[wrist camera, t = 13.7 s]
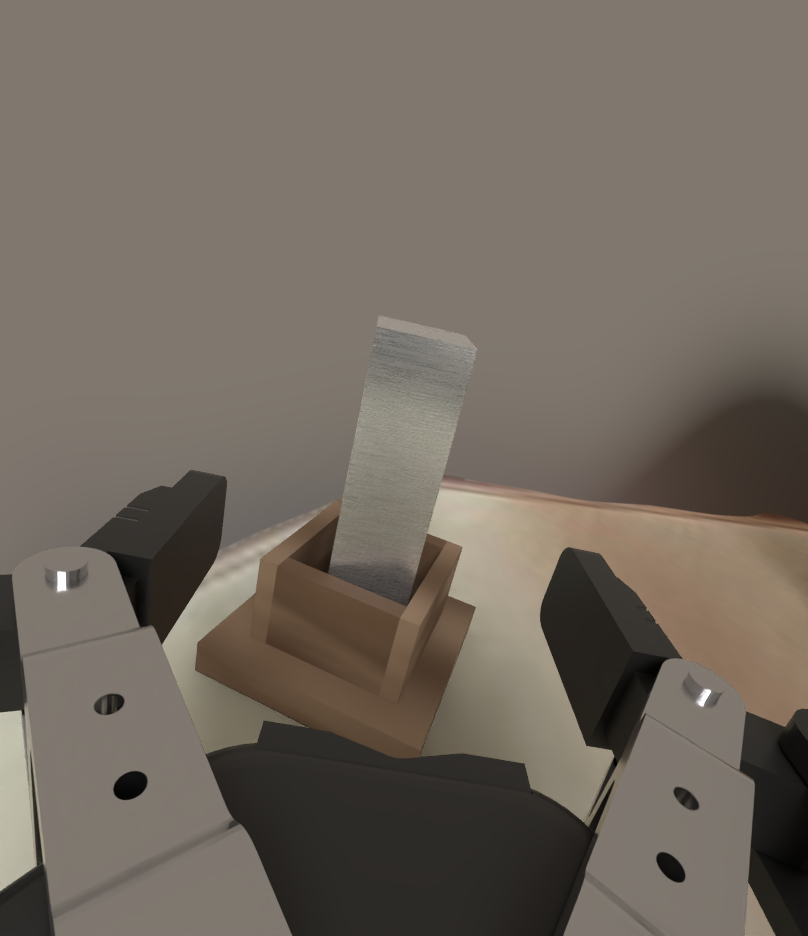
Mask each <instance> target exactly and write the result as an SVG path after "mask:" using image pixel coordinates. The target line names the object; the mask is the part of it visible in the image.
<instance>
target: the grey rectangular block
mask: <svg viewBox="0 0 808 936" xmlns="http://www.w3.org/2000/svg"><path fill="white" fill-rule="evenodd" d="M476 353H477V348H476V347H475V346H474V345H473V344H472V343H471V342H470V340H469V339H467V337H465V335H463V334H458V333H454V332H449V331H445V330H441V329H437V328H432V327H428V326H423V325H419V324H414V323H410V322H406V321H402V320H397V319H393V318H389V317H384V316H379V319H378V323H377V328H376V333H375V338H374V343H373V348H372V353H371V358H370V363H369V368H368V374H367V378H366V384H365V389H364V394H363V399H362V404H361V409H360V414H359V419H358V424H357V429H356V434H355V439H354V444H353V449H352V454H351V460H350V465H349V470H348V475H347V480H346V485H345V490H344V495H343V500H342V505H341V510H340V515H339V520H338V525H337V530H336V536H335V541H334V546H333V551H332V556H331V561H330V566H329V571H328V574H329V575H332V576H334V577H337V578H339V579H341V580H344V581H346V582H349V583H351V584H353V585H356V586H358V587H361V588H363V589H365V590H368V591H370V592H373V593H375V594H377V595H380V596H382V597H385V598H387V599H389V600H392V601H394V602H397V603H399V604H401V605H404V606H406V607H407V605H408V602H409V598H410V594H411V591H412V587H413V583H414V580H415V576H416V572H417V569H418V565H419V561H420V558H421V554H422V550H423V547H424V543H425V540H426V536H427V532H428V529H429V525H430V521H431V518H432V514H433V510H434V507H435V503H436V499H437V496H438V492H439V488H440V485H441V481H442V478H443V474H444V470H445V467H446V463H447V459H448V456H449V452H450V448H451V445H452V441H453V437H454V434H455V430H456V426H457V423H458V419H459V415H460V412H461V408H462V405H463V401H464V397H465V394H466V390H467V386H468V382H469V379H470V375H471V371H472V368H473V364H474V361H475V357H476Z"/></svg>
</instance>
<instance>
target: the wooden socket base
mask: <svg viewBox="0 0 808 936" xmlns="http://www.w3.org/2000/svg"><path fill="white" fill-rule="evenodd" d="M341 505H342V501H339V500H337V501H336V502H334V503H333V504H332V505H330V506H329V507H328V508H327V509H325V510H324V511H323V512H321V513H320V514H319V515H317V516H316V517H315V518H313V519H312V520H311V521H309V522H308V523H307V524H306V525H304V526H303V527H302V528H300V529H299V530H298V531H296V532H295V533H294V534H292V535H291V536H290V537H289V538H287V539H286V540H285V541H283V542H282V543H281V544H279V545H278V546H277V547H275V548H274V549H273V550H271V551H270V552H269V553H268V554H266V555H265V556H264V557H262V558H261V559H260V566H259V573H258V580H257V588H256V593H255V594H254V595H253V596H252V597H250V598H249V599H248V600H247V601H246V602H245V603H243V604H242V605H241V606H240V607H239V608H238V609H236V610H235V611H234V612H233V613H232V614H231V615H229V616H228V617H227V618H226V619H225V620H224V621H222V622H221V623H220V624H219V625H218V626H217V627H215V628H214V629H213V630H212V631H211V632H209V633H208V634H207V635H206V636H205V637H204V638H202V639H201V640H200V641H199V642H198V644H197V655H196V667H195V670H196V671H198V672H200V673H202V674H204V675H206V676H208V677H210V678H212V679H214V680H216V681H218V682H220V683H222V684H224V685H226V686H228V687H230V688H232V689H234V690H236V691H238V692H240V693H242V694H244V695H246V696H248V697H250V698H252V699H254V700H256V701H258V702H260V703H262V704H264V705H266V706H268V707H270V708H272V709H274V710H276V711H278V712H280V713H282V714H284V715H286V716H288V717H290V718H292V719H294V720H296V721H298V722H300V723H302V724H304V725H306V726H308V727H310V728H312V729H317V730H323V731H329V732H332V733H335V734H337V735H340V736H342V737H344V738H347V739H349V740H352V741H354V742H357V743H359V744H361V745H364V746H366V747H369V748H371V749H374V750H376V751H378V752H381V753H383V754H386V755H388V756H391V757H394V758H415V757H419V756H420V753H421V751H422V748H423V746H424V743H425V740H426V738H427V735H428V733H429V730H430V727H431V725H432V722H433V720H434V717H435V714H436V712H437V709H438V707H439V704H440V701H441V699H442V696H443V694H444V691H445V688H446V686H447V683H448V681H449V678H450V675H451V673H452V670H453V668H454V665H455V662H456V660H457V657H458V655H459V652H460V649H461V647H462V644H463V642H464V639H465V636H466V634H467V631H468V629H469V626H470V623H471V620H472V617H473V614H474V611H475V608H476V607H474V606H472V605H469V604H467V603H464V602H462V601H459V600H457V599H454V598H452V597H449V596H448V592H449V589H450V586H451V583H452V579H453V576H454V573H455V570H456V566H457V563H458V560H459V557H460V553H461V550H462V547H461V546H459V545H456V544H453V543H451V542H448V541H445V540H443V539H440V538H437V537H435V536H432V535H429V534H427V536H426V540H425V543H424V547H423V550H422V554H421V558H420V561H419V565H418V569H417V572H416V576H415V580H414V583H413V587H412V591H411V594H410V598H409V602H408V605H407V607H406V606H404V605H401V604H399V603H397V602H394V601H392V600H389V599H387V598H385V597H382V596H380V595H377V594H375V593H373V592H370V591H368V590H365V589H363V588H361V587H358V586H356V585H353V584H351V583H349V582H346V581H344V580H341V579H339V578H337V577H334V576H332V575H329V574H328V571H329V566H330V561H331V556H332V551H333V546H334V541H335V536H336V530H337V525H338V520H339V515H340V510H341Z"/></svg>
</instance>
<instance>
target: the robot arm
mask: <svg viewBox="0 0 808 936" xmlns="http://www.w3.org/2000/svg"><path fill="white" fill-rule="evenodd" d="M226 488H227V480H226V477H224V476H219V475H214V474H210V473H205V472H200V471H195V470H190V471H189V472H188V473H187V474H186V475H185V476H184V477H183V478H182V479H181V480H180V481H178V482H177V484H175V485H174V486H173V487H172V488H170V487H165V486H160V487H157V488H154V489H152V490H149V491H146V492H144V493H141V494H140V495H138V496H137V497H136V498H135V499H134V500H133V501H132V502H131V503H129V504H128V505H127V508H124V509H122V510H121V511H120V512H119V513H118V514H117V515H116V518H112V519H111V520H110V521H109V522H107V523H106V524H105V525H104V526H103V527H102V528H101V529H100V530H98V531H97V532H96V533H95V534H94V535H93V536H91V537H90V538H89V539H88V540H87V541H86V542H85V543H83V544H82V545H81V546H80V547H61V548H55V549H51V550H47V551H43V552H40V553H38V554H35V555H33V556H31V557H29V558H27V559H26V560H24V561H23V562H22V563H20V564H19V565H18V566H17V567H16V569H15V570H14V572H13V574H12V575H0V712H8V711H18V710H21V719H22V729H23V739H24V749H25V760H26V770H27V780H28V790H29V800H30V811H31V822H32V835H33V847H34V859H35V867H34V868H33V869H32V870H30V871H29V872H27V873H26V874H24V875H23V876H22V877H20V878H19V879H17V880H16V881H14V882H13V883H12V884H10V885H9V886H7V887H6V888H4V889H3V890H2V891H0V936H744V931H745V917H746V903H747V889H748V883H749V884H750V886H751V888H752V890H753V892H754V894H755V896H756V898H757V900H758V902H759V904H760V906H761V908H762V910H763V912H764V914H765V916H766V918H767V920H768V922H769V924H770V925H771V927H772V929H773V931H774V933H775V935H776V936H808V709H800V710H797V711H796V712H795V714H794V715H793V716H792V718H791V719H790V721H789V722H788V724H787V725H786V727H783V726H781V725H778V724H776V723H773V722H771V721H769V720H766V719H764V718H761V717H759V716H756V715H754V714H751V713H749V712H746V707H745V704H744V702H743V700H742V698H741V697H740V695H739V694H738V693H737V691H736V690H735V689H734V688H733V687H732V686H731V685H730V684H729V683H728V682H726V681H725V680H724V679H723V678H721V677H720V676H719V675H717V674H716V673H714V672H712V671H711V670H709V669H707V668H705V667H703V666H701V665H699V664H697V663H694V662H691V661H688V660H684V659H682V657H681V656H680V655H679V653H678V652H677V650H676V649H675V648H674V646H673V645H672V643H671V642H670V640H669V639H668V638H667V636H666V635H665V633H664V632H663V631H662V629H661V628H660V626H659V625H658V624H656V623H655V619H654V618H653V616H652V615H651V614H650V612H649V611H646V607H645V605H644V604H643V602H642V601H641V599H640V598H639V597H638V595H637V594H636V593H635V592H634V591H633V590H632V589H631V588H630V587H628V586H627V585H626V584H625V583H624V582H622V581H621V580H620V579H619V578H616V576H615V575H614V573H613V572H612V570H611V569H610V567H609V566H608V564H607V563H606V561H605V560H604V558H603V557H602V556H601V555H600V554H599V553H594V552H589V551H584V550H579V549H574V548H569V547H568V548H566V549H565V550H564V551H563V552H562V554H561V556H560V558H559V560H558V563H557V566H556V568H555V571H554V573H553V576H552V578H551V581H550V583H549V586H548V588H547V591H546V594H545V596H544V599H543V601H542V605H541V612H540V622H541V627H542V630H543V633H544V635H545V638H546V640H547V643H548V646H549V648H550V651H551V654H552V656H553V659H554V662H555V664H556V667H557V669H558V672H559V675H560V677H561V680H562V683H563V685H564V688H565V690H566V693H567V696H568V698H569V701H570V704H571V706H572V709H573V711H574V714H575V717H576V719H577V722H578V725H579V727H580V730H581V732H582V735H583V738H584V740H585V743H586V746H591V747H597V748H603V749H609V750H612V751H613V754H614V757H613V759H612V761H611V763H610V765H609V767H608V769H607V771H606V773H605V775H604V778H603V780H602V782H601V785H600V787H599V789H598V792H597V794H596V796H595V798H594V801H593V803H592V805H591V808H590V810H589V812H588V815H587V817H586V819H585V822H583V821H582V820H580V819H579V818H578V817H577V816H575V815H574V814H573V813H571V812H570V811H569V810H568V809H566V808H565V807H563V806H562V805H560V804H559V803H557V802H556V801H554V800H553V799H551V798H549V797H547V796H545V795H543V794H542V793H540V792H538V791H535V790H533V789H531V788H530V784H529V780H528V776H527V772H526V768H525V764H523V763H517V762H511V761H505V760H499V759H493V758H487V757H481V756H475V755H469V754H451V755H439V756H427V757H415V758H394V757H391V756H388V755H386V754H383V753H381V752H378V751H376V750H374V749H371V748H369V747H366V746H364V745H361V744H359V743H357V742H354V741H352V740H349V739H347V738H344V737H342V736H340V735H337V734H335V733H332V732H329V731H323V730H317V729H311V728H305V727H299V726H293V725H287V724H281V723H275V722H269V721H264V722H263V725H262V729H261V732H260V735H259V738H258V742H257V743H252V744H243V745H237V746H232V747H227V748H224V749H221V750H217V751H214V752H211V753H208V754H206V755H205V752H204V750H203V747H202V745H201V742H200V740H199V737H198V735H197V732H196V730H195V727H194V725H193V722H192V720H191V717H190V715H189V712H188V710H187V707H186V705H185V702H184V700H183V697H182V695H181V692H180V690H179V687H178V685H177V682H176V680H175V677H174V675H173V672H172V670H171V667H170V665H169V662H168V660H167V657H166V655H165V652H164V650H163V647H162V643H163V642H164V640H165V639H166V637H167V636H168V634H169V632H170V631H171V629H172V628H173V626H174V625H175V623H176V621H177V620H178V618H179V617H180V615H181V614H182V612H183V610H184V609H185V607H186V606H187V604H188V603H189V601H190V599H191V598H192V596H193V595H194V593H195V592H196V590H197V588H198V587H199V585H200V584H201V582H202V581H203V579H204V577H205V576H206V574H207V573H208V571H209V570H210V568H211V566H212V565H213V563H214V561H215V559H216V556H217V553H218V550H219V546H220V542H221V535H222V526H223V517H224V508H225V498H226Z"/></svg>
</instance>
